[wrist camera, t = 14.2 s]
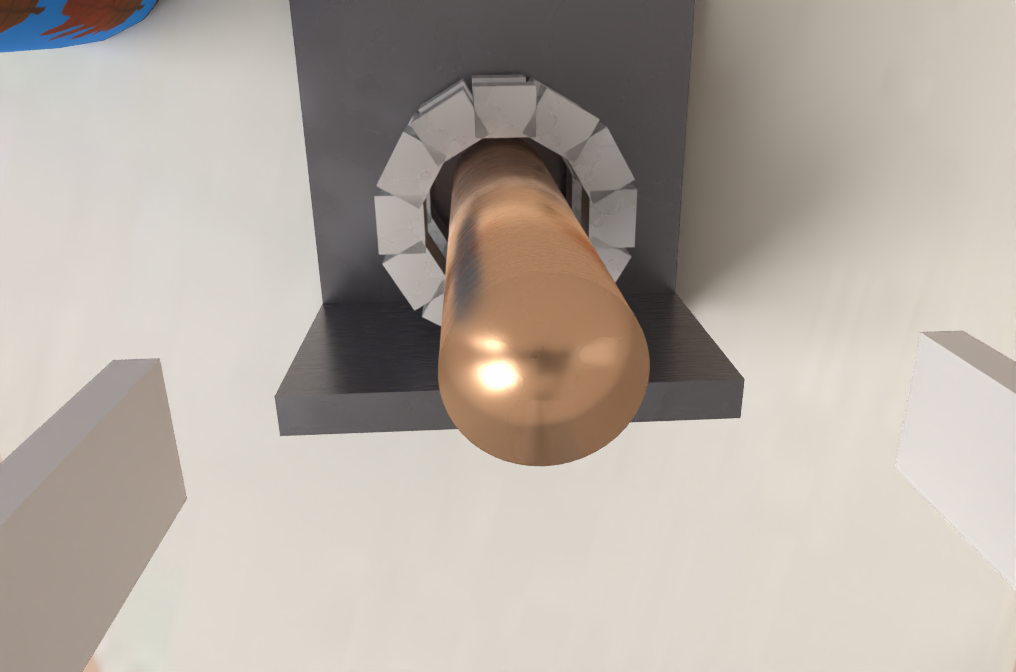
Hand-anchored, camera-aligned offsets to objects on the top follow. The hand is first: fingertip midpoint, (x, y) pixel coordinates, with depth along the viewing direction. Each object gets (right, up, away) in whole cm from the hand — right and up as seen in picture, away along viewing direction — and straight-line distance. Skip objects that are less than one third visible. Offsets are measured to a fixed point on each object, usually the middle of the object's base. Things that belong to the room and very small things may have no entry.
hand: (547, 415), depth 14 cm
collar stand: (-1, +8, +21) cm, 22 cm away
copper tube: (-1, +8, +20) cm, 21 cm away
